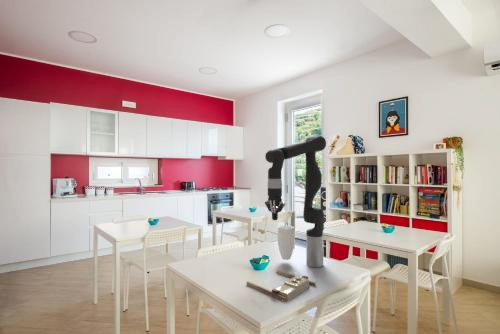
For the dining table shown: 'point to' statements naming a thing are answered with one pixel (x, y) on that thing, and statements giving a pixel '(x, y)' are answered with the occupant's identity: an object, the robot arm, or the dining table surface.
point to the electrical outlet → (293, 286)
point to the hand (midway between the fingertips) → (274, 219)
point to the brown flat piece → (274, 291)
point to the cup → (286, 241)
